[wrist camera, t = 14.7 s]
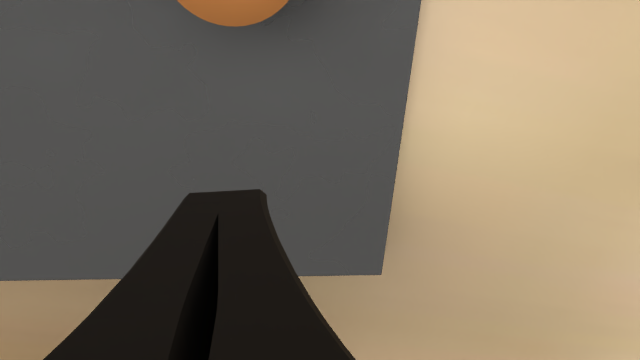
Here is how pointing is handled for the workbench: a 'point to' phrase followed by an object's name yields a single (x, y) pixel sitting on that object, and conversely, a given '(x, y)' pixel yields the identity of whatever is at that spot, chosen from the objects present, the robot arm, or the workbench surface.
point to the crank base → (197, 128)
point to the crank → (233, 10)
